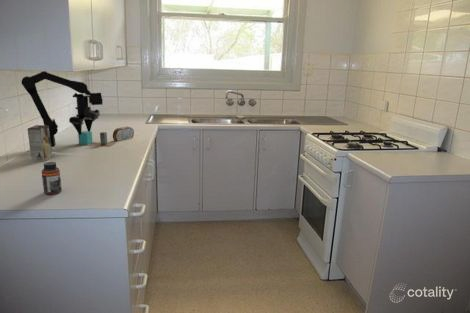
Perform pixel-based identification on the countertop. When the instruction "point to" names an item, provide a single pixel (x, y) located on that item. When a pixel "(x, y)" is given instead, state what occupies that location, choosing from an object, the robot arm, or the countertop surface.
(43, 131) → the coffee box
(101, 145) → the walnut board
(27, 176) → the countertop surface
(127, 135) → the tin
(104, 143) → the post
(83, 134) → the teal block
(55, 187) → the supplement bottle
